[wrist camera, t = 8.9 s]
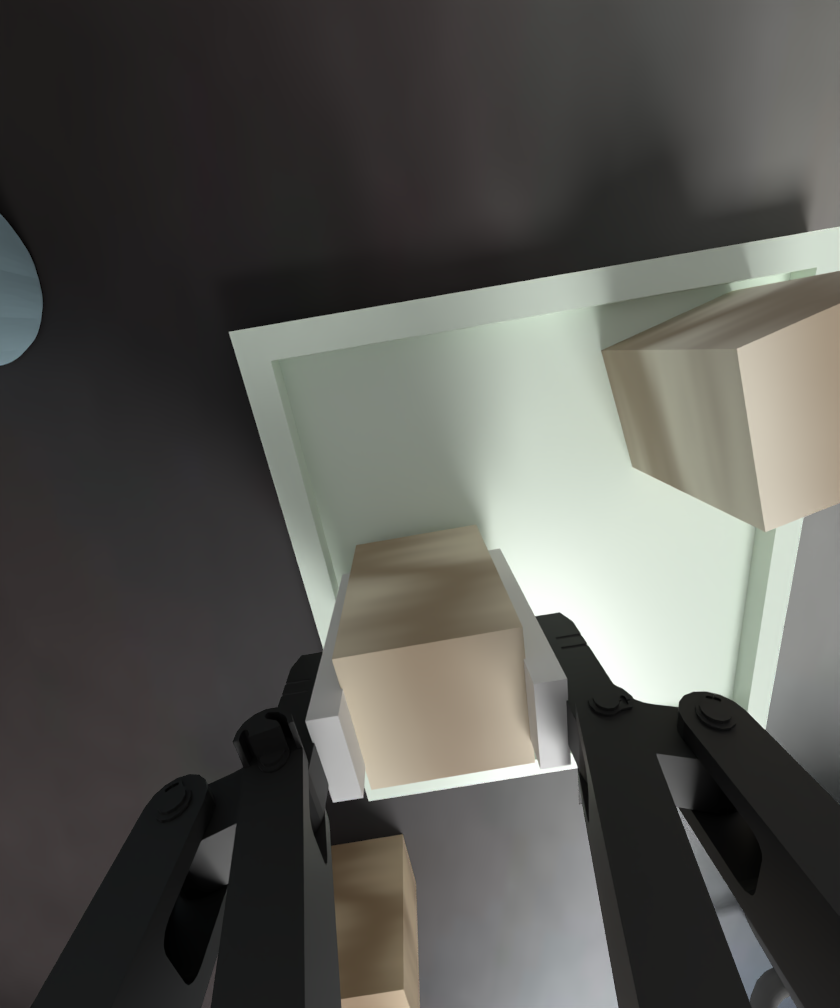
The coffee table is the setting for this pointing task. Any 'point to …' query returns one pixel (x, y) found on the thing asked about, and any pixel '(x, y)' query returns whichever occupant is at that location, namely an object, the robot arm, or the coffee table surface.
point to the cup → (17, 296)
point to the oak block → (376, 924)
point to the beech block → (432, 660)
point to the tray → (530, 465)
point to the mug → (771, 984)
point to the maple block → (739, 400)
